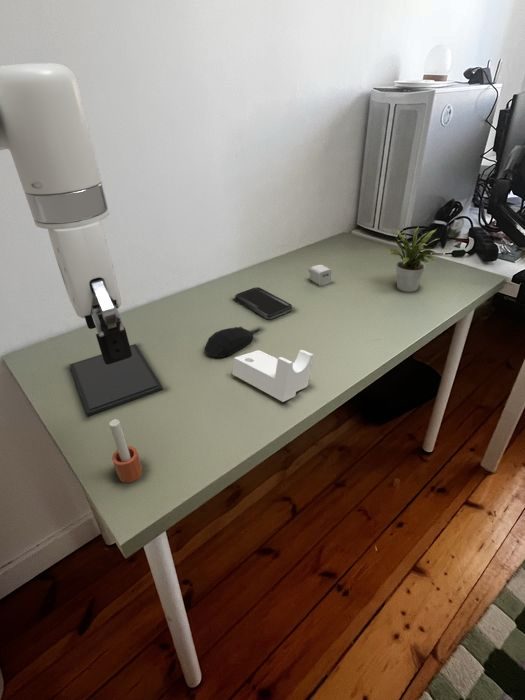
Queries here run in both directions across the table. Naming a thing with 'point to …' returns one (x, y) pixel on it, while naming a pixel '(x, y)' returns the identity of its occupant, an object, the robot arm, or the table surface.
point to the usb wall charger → (320, 274)
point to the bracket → (274, 373)
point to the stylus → (120, 440)
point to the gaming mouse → (228, 341)
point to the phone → (263, 303)
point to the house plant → (412, 261)
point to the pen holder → (128, 466)
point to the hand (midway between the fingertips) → (109, 341)
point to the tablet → (113, 381)
